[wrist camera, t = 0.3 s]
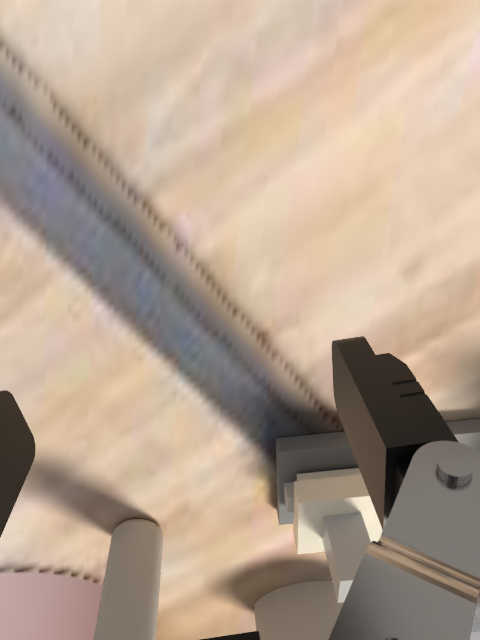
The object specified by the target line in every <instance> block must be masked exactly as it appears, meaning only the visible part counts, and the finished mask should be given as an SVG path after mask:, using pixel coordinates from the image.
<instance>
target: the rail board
mask: <svg viewBox="0 0 480 640" xmlns="http://www.w3.org/2000/svg"><path fill="white" fill-rule="evenodd" d="M446 424H447V425H448V427H449V428H450V430H451V431H452V433H453V434H454V436H455V437H456V439H457V440H458V441H459V443H462V444H465V445H468V446H470V447H472V448H475V449H476V450H478V451H480V418H477V419H467V420H457V421H447V422H446ZM353 468H359V467H358V464H357V462H356V459H355V457H354V454H353V451H352V449H351V446H350V444H349V441H348V438H347V436H346V433H345V431H343V432H333V433H323V434H312V435H302V436H292V437H281V438H276V484H277V514H278V520H279V525H282V524H292V523H294V481H297V474H302V473H312V472H322V471H333V470H343V469H353Z"/></svg>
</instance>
